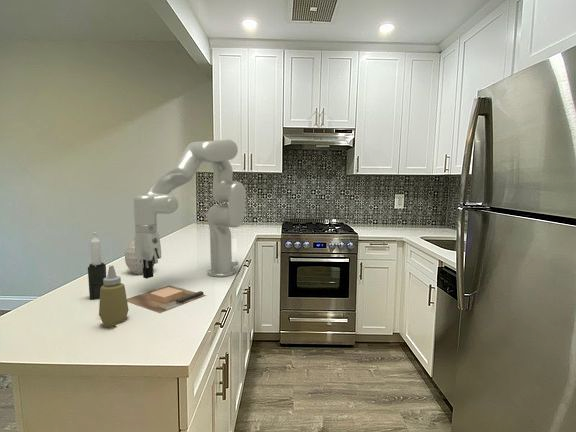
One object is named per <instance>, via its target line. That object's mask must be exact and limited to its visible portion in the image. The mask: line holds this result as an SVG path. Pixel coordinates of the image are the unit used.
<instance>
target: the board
mask: <svg viewBox="0 0 576 432" xmlns="http://www.w3.org/2000/svg"><path fill="white" fill-rule="evenodd" d="M167 287H170V288H174V289H177V290H181V291H183V297H185V296H188V295H191V294H194V293H196V291H193V290H189V289H184V288H181V287H177V286H174V285H171V284H170V285H167V286H163V287H159V288H157V289H154V290H151V291H147V292H144V293H142V294H138V295H135V296H131V297H129V298H127V303H129V304H132V305H134V306H137V307H141V308H144V309H147V310H149V311H153V312H155V313H157V314H162V313H164V312H167V311H170V310H173V309H175V308H178V307H181V306H183V305H185V304H188V303H190V302H194V301H196V300H198V299H202V298H205V297H207V294H204V293H203V295H201V296H198V297H195V298H193V299H190V300H187V301H185V302H182V303H181V304H182V305H179V306H176V307H174V308H171V309H169V310H166V309H163V308H160V307H159V306H161V305H164V303H161V302H158V301H155V300H152V299H150V293H151V292H154V291H158V290H161V289H164V288H167ZM183 297H181V298H183ZM178 299H180V298H178ZM176 300H177V299H176ZM176 300H173V301H175V302H176ZM173 301H170V302H173ZM170 302H167V303H170ZM167 303H165V304H167Z"/></svg>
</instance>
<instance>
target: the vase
mask: <svg viewBox="0 0 576 432" xmlns="http://www.w3.org/2000/svg"><path fill="white" fill-rule="evenodd" d="M124 262H125V265H126V267H127V268H128V270H129V271H130V272H131V273H133V274H134V275H143V268H144V267H142V265H141V262H140V261H139V260H138V259H137V257H136V256H135V237H133V240H131V242H130V243H129V244H128V245H127V246H126V250H125V252H124Z"/></svg>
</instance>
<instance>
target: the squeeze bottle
mask: <svg viewBox="0 0 576 432" xmlns="http://www.w3.org/2000/svg"><path fill="white" fill-rule="evenodd" d="M103 283H104V285H103V286H102V287H101V288H100V299H99V304H98V305H99V306H98V310H99V311H98V317H99V318H100V320H101V322H102V325H103V326H104V327H106V328H117V326H116V325H117V324H121V323H122V322H124V321H126V319H127V318H128V317H127V316H128V313H129V310H130V309H129V305H128V303H129V302H127V299H128V298H127V293H126V292H127V291H126V287H125V284H124V283H122V279H121V276H119V275H117V272H116V270H115V267H114V265H109V266H108V271H107V274H106V278H104V279H103Z"/></svg>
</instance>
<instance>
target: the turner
mask: <svg viewBox="0 0 576 432" xmlns="http://www.w3.org/2000/svg"><path fill="white" fill-rule="evenodd" d="M195 292H196V291H195ZM203 294H204V291H201V290H200V291H197V292H196V293H194V294H191V295H188V296H185V297H183V298H180V299H177V300H176V302H175V301H173V302H170V303H167V304H164V305H161V306H159V307H160V308H163V309H166V310H167V311H170V310H172V309H171V308H173V309H175V308H177V307H176V306H178V307H180V306H179V305H181V306H183V305H182V304H181V303H182V302H185V301H187V300H190V299H193V298H195V297H198V296H201V295H203ZM174 307H175V308H174ZM169 309H170V310H169Z"/></svg>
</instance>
